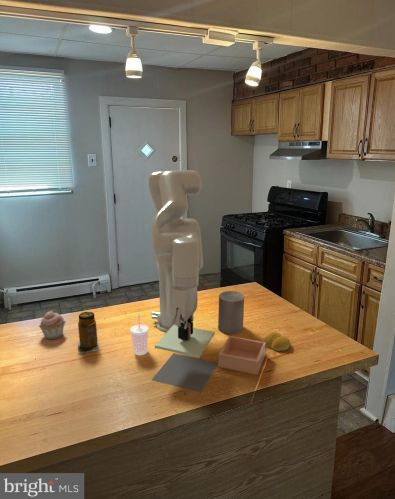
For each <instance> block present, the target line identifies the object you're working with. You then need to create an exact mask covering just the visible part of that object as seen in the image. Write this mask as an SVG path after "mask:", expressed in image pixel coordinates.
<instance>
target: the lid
mask: <svg viewBox="0 0 395 499" xmlns="http://www.w3.org/2000/svg"><path fill="white" fill-rule="evenodd" d="M183 323H184V322H183ZM187 328H189V331H188V340H183V339H179V338H178V327H177V326H175V324H174V325H173V326H172V327H171V328H170V329H169V330H168V331H167V332H165V334H164V335H163V336H162V337H161V338H160V339H159V340H158V342H156V344H155V345H154V348H155V349H157V350H158V349H159V350H163V351H166V352H167V351H168V352H171V353H175V354H179V355H184V356H189V357H194V358H198V359H200V357H201V356H202V354H203V353H204V350H206V348H207V346H208V345H209V343H210V342H211V340H213V337H214V336H215V331H212V330H206V329H201V328H196V327H193V334H191V323H190V322H187Z"/></svg>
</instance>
